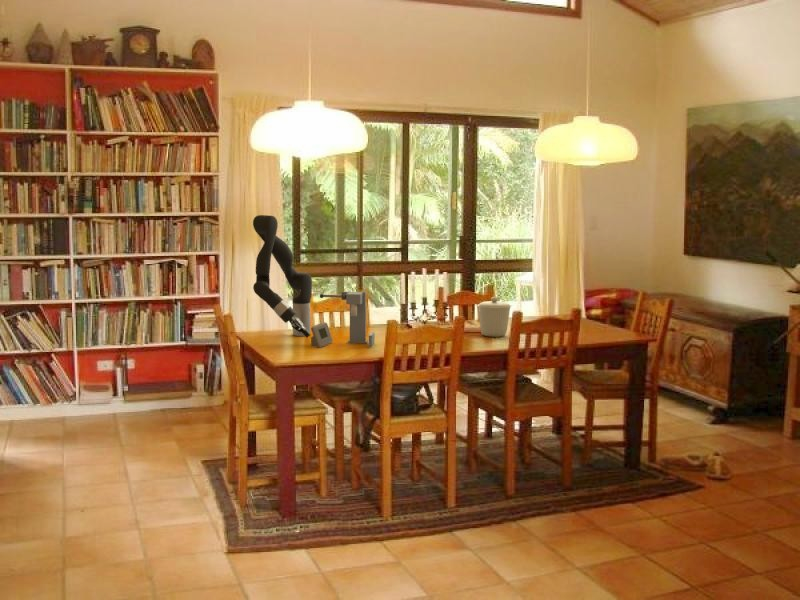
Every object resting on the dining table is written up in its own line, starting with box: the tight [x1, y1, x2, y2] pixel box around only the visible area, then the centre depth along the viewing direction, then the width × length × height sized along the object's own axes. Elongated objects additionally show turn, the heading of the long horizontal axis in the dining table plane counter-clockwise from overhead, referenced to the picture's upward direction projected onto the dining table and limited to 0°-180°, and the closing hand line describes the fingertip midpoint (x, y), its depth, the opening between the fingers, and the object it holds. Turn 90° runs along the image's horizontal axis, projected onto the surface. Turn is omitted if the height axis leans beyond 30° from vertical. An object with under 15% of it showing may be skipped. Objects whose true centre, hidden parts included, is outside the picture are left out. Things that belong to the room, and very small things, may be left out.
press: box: [341, 291, 376, 348], centre depth 431 cm, size 14×17×26 cm
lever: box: [319, 293, 346, 299], centre depth 434 cm, size 2×14×2 cm, turn 85°
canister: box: [477, 296, 512, 338], centre depth 463 cm, size 18×18×21 cm
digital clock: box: [310, 321, 334, 348], centre depth 431 cm, size 16×9×11 cm, turn 150°
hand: (308, 336), depth 431 cm, fingers closed
